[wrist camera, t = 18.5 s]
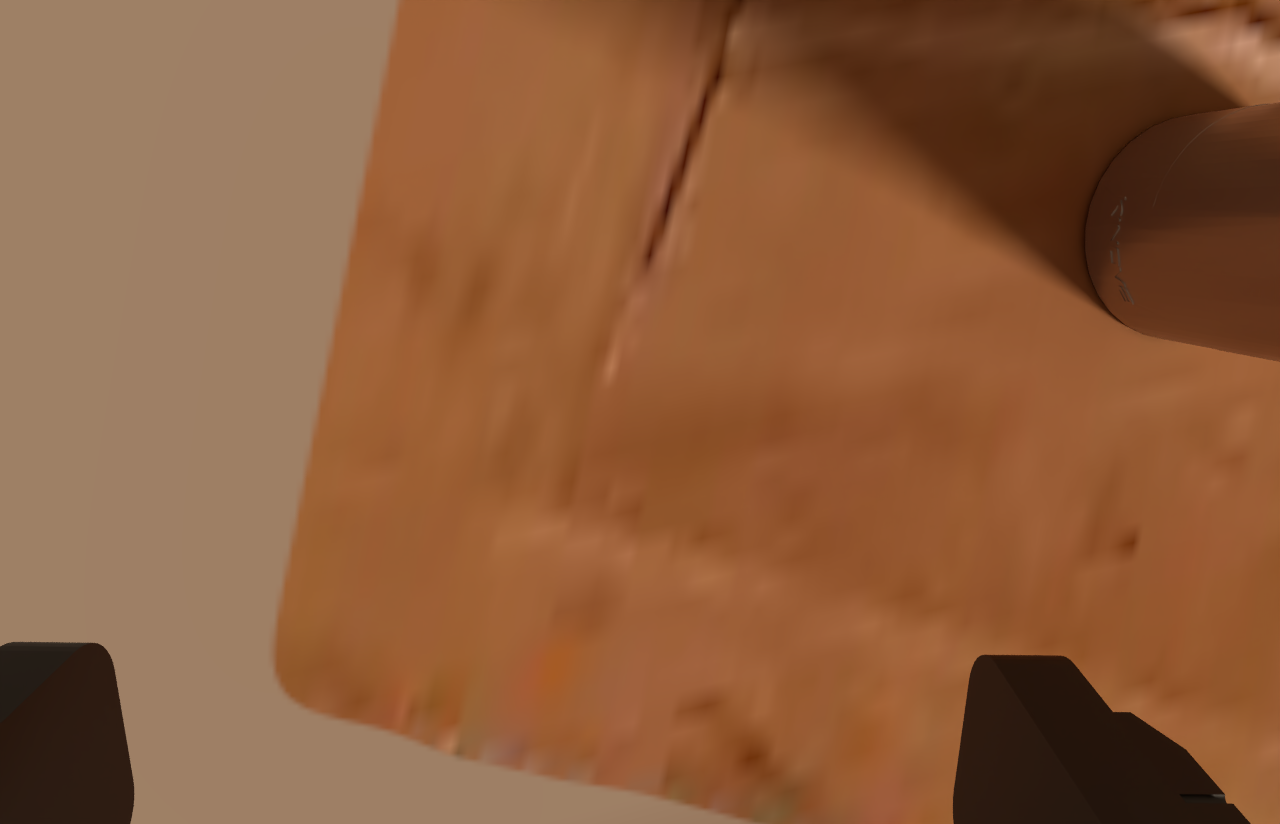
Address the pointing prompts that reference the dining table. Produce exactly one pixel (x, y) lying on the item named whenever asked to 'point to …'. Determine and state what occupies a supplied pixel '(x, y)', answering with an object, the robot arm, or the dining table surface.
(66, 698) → the robot arm
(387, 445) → the dining table surface
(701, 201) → the dining table surface
